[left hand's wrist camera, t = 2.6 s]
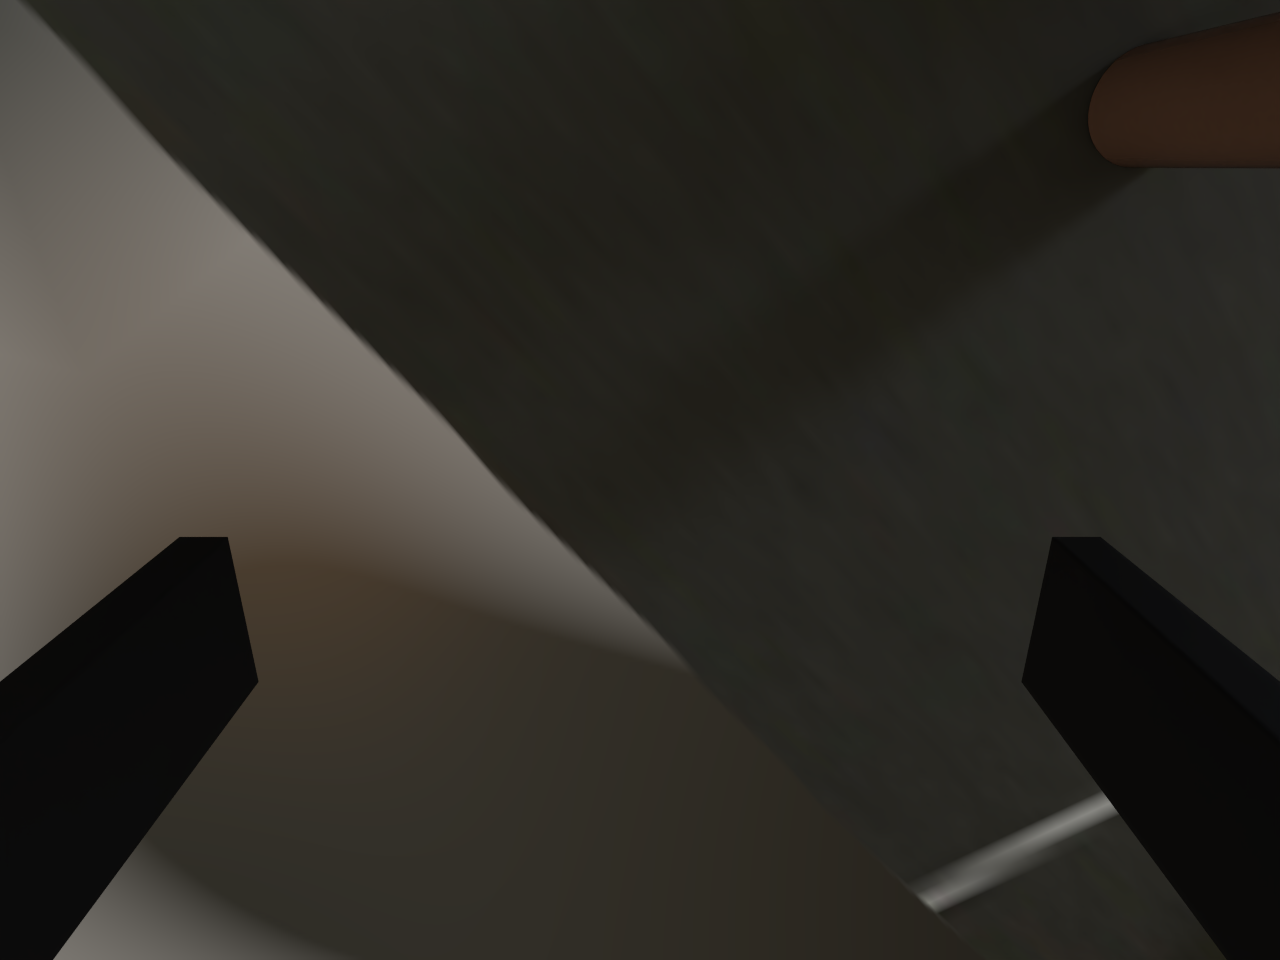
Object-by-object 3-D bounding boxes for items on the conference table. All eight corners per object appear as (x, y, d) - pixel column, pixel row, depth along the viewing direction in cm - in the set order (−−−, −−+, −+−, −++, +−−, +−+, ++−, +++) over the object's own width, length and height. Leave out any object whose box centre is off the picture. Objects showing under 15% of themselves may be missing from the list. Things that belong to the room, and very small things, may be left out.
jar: (1065, 105, 36) (1352, 64, 21) (1166, 14, 34) (1545, -95, 20) (1126, 192, 37) (1434, 209, 23) (1225, 108, 36) (1620, 69, 21)
